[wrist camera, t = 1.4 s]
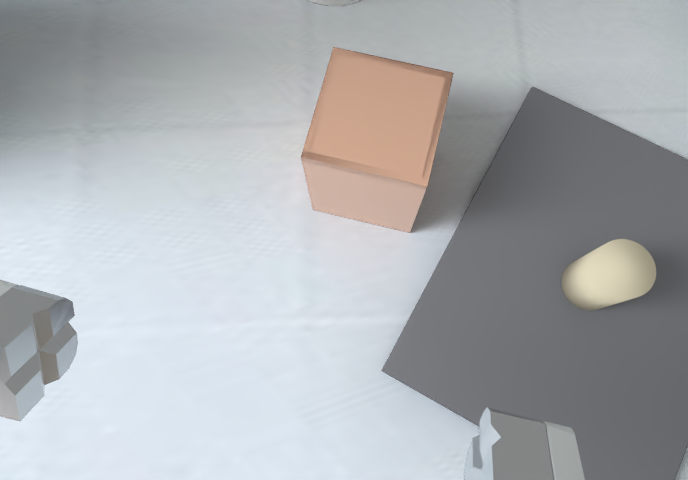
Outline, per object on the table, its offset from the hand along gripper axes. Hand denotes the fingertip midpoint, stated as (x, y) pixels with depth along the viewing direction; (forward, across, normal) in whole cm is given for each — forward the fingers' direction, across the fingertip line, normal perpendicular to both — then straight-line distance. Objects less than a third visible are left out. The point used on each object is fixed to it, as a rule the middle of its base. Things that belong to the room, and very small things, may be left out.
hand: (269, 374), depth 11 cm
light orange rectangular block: (+24, +1, +6) cm, 25 cm away
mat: (+22, -13, +9) cm, 27 cm away
